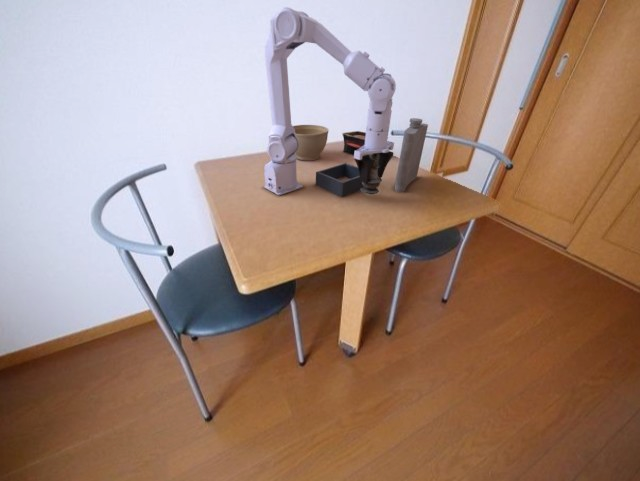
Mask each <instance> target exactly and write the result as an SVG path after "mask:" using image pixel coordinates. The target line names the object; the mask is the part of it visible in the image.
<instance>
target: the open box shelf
mask: <svg viewBox="0 0 640 481" xmlns="http://www.w3.org/2000/svg"><path fill="white" fill-rule="evenodd" d="M341 178H347V179H346V180H344V181H343V180H340V179H341ZM315 186H317V187H318V188H320V189H322V190H325V191H327V192H329V193H332V194H333V195H336V196H338V197H341V198H344V197H346V196H348V195H351V194H354V193H356V192H358V191H361V188H362V187H364V186H363V184H362V182H361V181H360V174H359V169H358V166H357V165H353V164H351V163H347V162H343V163H340V164H337V165H333V166H330V167H327V168H324V169H322V170H318V171H315Z"/></svg>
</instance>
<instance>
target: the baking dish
mask: <svg viewBox="0 0 640 481" xmlns="http://www.w3.org/2000/svg"><path fill="white" fill-rule="evenodd" d="M341 134H342V137H343V142H344V143H343V151H342V152H343V153H346V154H349V155H354V151H355V150H358V149H359V148H361V147H362V146H364V145H365V136H366V131H360V130H353V131H346V132H342V133H341Z"/></svg>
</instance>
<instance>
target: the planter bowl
mask: <svg viewBox="0 0 640 481" xmlns="http://www.w3.org/2000/svg"><path fill="white" fill-rule="evenodd" d="M292 126H293V127H294V129H295V135H296V137H297V139H298V142H299V147H298V150H297V151H296V152H295V155H296V159H298V160H299V161H315V160H318V159H320V156H321V154H322V153H323V152H324V150H325V148H326V146H327V142H328V138H329V136H328V135H329V128H328V127H326V126H324V125H317V124H297V125H292Z"/></svg>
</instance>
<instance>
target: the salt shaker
mask: <svg viewBox="0 0 640 481" xmlns="http://www.w3.org/2000/svg"><path fill="white" fill-rule="evenodd" d="M369 158H370V159H372V160H375V162H374V164H373V166H372V169H371V172H370V177H369V181H368V183H363V182H362V184H363V186H364V187H362V188H361V189H360V192H361V193H363V194H366V195H377V194H379V193H380V189H378V187H379V186H380V185H381V182H382V180H383V179H382V177H381V178H380V177H378V174H377V172H378V168H379V165H378V163H379V153H374V154H373V155H370V156H369Z"/></svg>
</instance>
